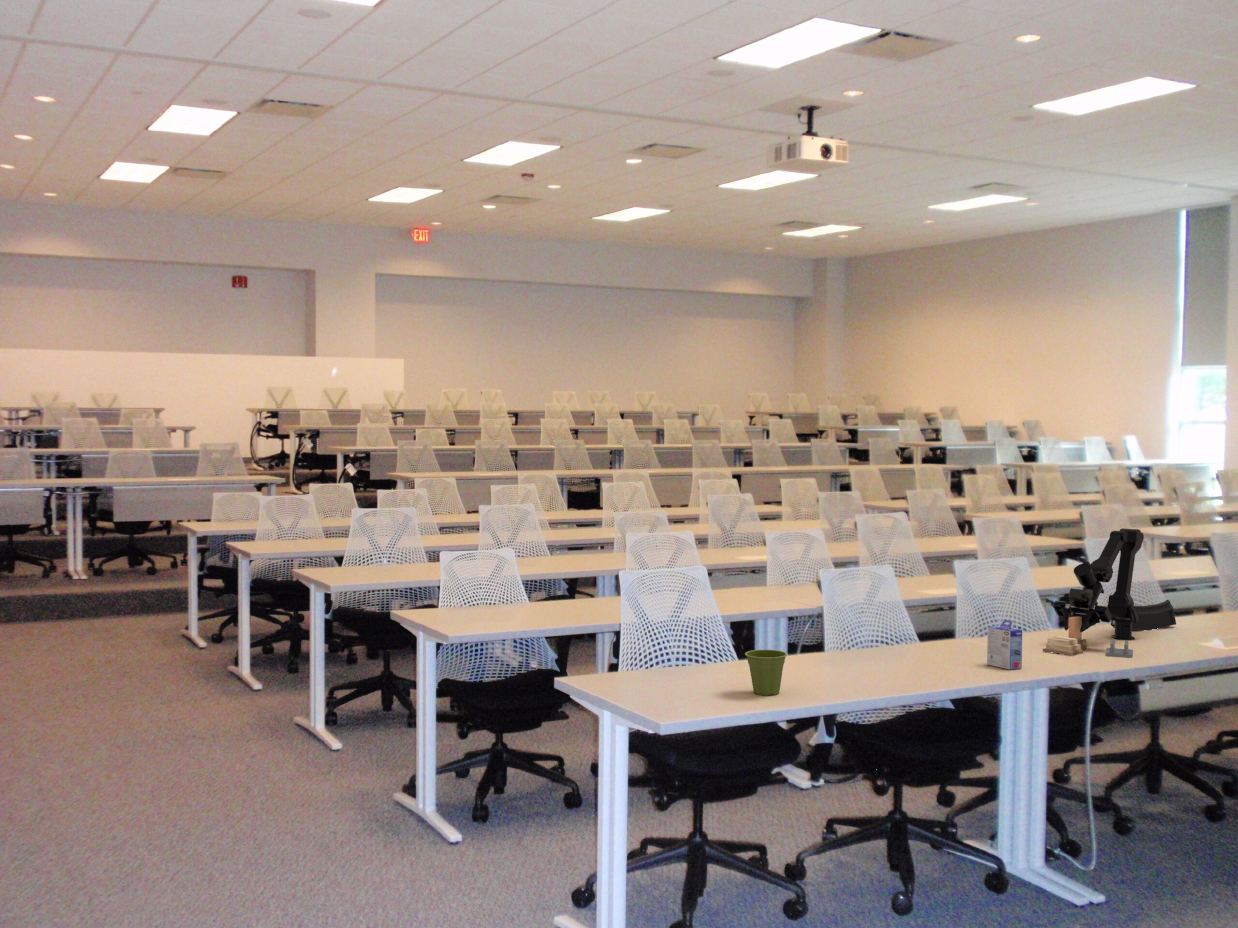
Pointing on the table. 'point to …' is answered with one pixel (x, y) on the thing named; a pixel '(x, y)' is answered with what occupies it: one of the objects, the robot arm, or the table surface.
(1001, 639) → the ink cartridge box
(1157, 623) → the magazine
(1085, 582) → the robot arm
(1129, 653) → the holder
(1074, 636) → the tall peach slab
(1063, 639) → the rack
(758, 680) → the plant pot
